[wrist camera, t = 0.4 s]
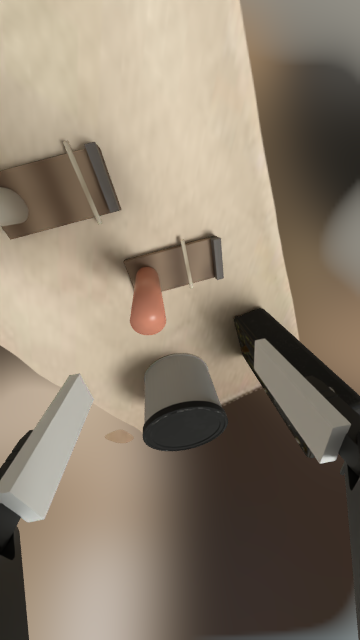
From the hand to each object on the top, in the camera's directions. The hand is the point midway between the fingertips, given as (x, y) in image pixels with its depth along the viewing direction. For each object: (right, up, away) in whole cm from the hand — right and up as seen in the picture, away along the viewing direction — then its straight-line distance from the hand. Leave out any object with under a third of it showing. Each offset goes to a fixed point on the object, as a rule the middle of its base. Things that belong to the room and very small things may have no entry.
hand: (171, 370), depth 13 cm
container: (0, -13, +38) cm, 40 cm away
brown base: (0, +14, +20) cm, 24 cm away
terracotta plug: (-5, +11, +18) cm, 22 cm away
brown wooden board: (-17, +21, +12) cm, 30 cm away
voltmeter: (+19, +1, +33) cm, 38 cm away
